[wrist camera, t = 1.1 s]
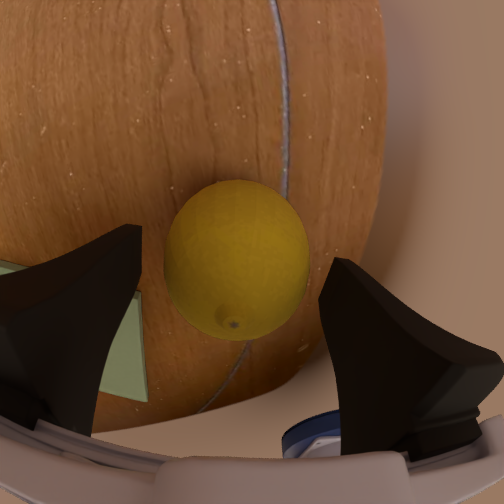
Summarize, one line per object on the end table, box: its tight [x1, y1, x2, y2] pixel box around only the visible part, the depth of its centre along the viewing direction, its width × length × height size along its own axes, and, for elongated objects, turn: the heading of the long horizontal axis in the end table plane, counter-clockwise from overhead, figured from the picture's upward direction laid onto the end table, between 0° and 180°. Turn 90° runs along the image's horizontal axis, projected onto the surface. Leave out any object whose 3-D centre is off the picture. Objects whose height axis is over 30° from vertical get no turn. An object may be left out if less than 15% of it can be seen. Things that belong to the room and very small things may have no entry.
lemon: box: [164, 179, 310, 341], centre depth 12 cm, size 6×6×8 cm
